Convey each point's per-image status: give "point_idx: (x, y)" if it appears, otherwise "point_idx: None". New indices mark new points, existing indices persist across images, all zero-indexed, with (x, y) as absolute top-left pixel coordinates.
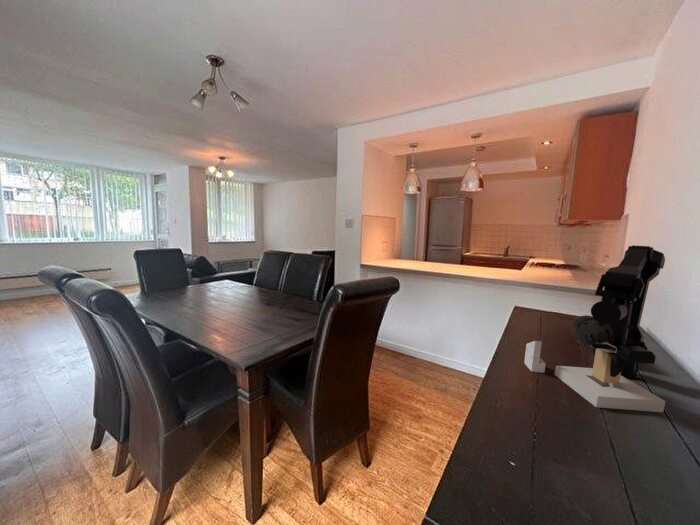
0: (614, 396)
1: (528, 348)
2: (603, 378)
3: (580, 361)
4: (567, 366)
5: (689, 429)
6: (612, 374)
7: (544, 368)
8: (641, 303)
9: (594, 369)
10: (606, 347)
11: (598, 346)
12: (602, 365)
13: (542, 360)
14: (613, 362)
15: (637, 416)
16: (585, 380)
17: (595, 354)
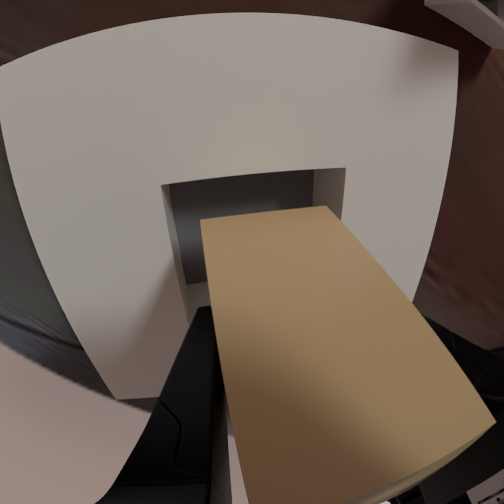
0: (24, 190)
1: None
2: (211, 237)
3: (480, 281)
4: (452, 130)
5: (37, 358)
6: (191, 323)
7: (444, 1)
8: None
9: (337, 238)
10: (444, 476)
11: (493, 446)
12: (275, 315)
13: (498, 24)
14: (162, 447)
15: (25, 243)
16: (247, 99)
17: (443, 352)
